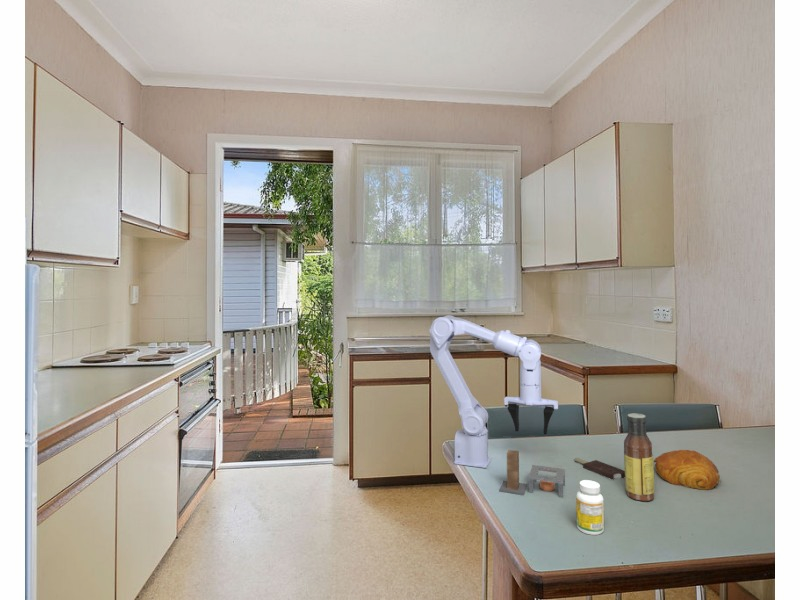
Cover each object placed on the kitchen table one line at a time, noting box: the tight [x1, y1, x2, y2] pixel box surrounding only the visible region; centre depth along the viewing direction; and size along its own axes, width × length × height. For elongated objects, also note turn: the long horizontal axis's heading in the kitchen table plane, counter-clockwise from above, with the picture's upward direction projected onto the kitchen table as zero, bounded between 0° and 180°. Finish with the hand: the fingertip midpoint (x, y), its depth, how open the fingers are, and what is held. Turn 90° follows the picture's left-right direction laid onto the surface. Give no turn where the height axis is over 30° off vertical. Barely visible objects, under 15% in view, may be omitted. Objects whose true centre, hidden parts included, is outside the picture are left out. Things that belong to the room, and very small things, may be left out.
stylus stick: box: [506, 449, 520, 490], centre depth 115 cm, size 3×3×9 cm
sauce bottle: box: [623, 412, 655, 502], centre depth 110 cm, size 7×6×20 cm
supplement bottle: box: [575, 479, 605, 536], centre depth 96 cm, size 5×5×10 cm
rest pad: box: [498, 479, 528, 496], centre depth 116 cm, size 6×6×1 cm
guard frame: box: [528, 464, 566, 499], centre depth 115 cm, size 8×8×4 cm
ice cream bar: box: [574, 457, 625, 480], centre depth 127 cm, size 5×2×15 cm
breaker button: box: [539, 480, 555, 492], centre depth 115 cm, size 3×3×2 cm
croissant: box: [653, 449, 720, 491], centre depth 121 cm, size 14×16×8 cm
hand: (531, 431), depth 128 cm, fingers open, 7 cm apart
